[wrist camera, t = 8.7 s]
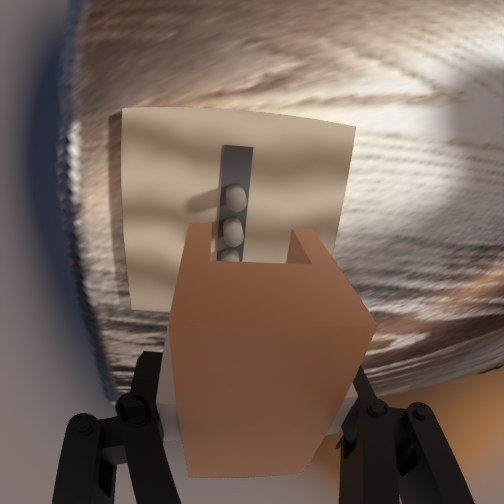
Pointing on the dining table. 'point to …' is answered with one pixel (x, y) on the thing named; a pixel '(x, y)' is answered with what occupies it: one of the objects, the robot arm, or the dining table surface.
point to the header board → (224, 188)
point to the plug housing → (261, 355)
